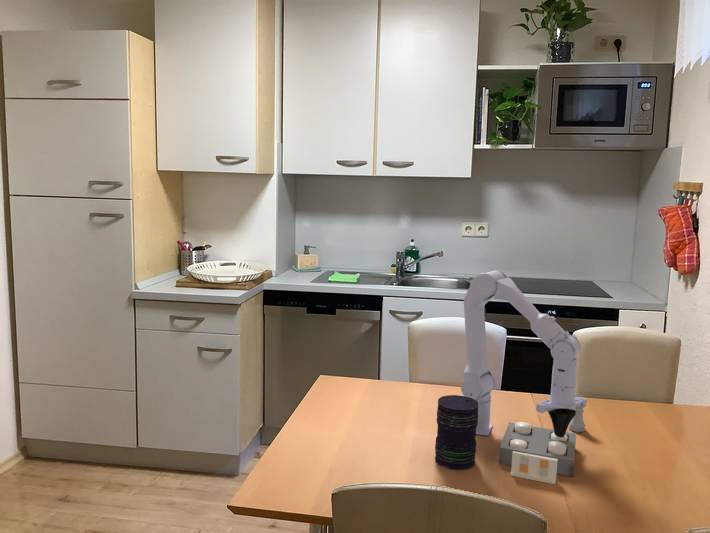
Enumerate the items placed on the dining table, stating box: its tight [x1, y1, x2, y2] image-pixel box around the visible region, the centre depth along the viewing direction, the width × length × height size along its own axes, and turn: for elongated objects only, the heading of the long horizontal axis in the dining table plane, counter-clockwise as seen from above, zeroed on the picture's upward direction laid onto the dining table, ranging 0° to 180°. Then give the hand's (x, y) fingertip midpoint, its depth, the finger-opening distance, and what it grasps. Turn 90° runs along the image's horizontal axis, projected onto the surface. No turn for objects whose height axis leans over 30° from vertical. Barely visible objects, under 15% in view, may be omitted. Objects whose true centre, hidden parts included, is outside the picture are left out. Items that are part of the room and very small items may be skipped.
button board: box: [498, 422, 577, 478], centre depth 153 cm, size 17×17×4 cm
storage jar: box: [434, 394, 478, 471], centre depth 148 cm, size 10×10×15 cm
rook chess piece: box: [568, 406, 586, 433], centre depth 170 cm, size 4×4×8 cm
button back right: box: [551, 433, 568, 441], centre depth 156 cm, size 4×4×3 cm
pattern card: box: [509, 451, 558, 485], centre depth 142 cm, size 10×3×5 cm, turn 69°
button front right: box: [547, 441, 567, 456], centre depth 147 cm, size 4×4×3 cm
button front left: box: [509, 439, 528, 449], centre depth 151 cm, size 4×4×3 cm
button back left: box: [515, 421, 532, 435], centre depth 159 cm, size 4×4×3 cm
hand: (559, 435), depth 155 cm, fingers closed, pressing on button back right
